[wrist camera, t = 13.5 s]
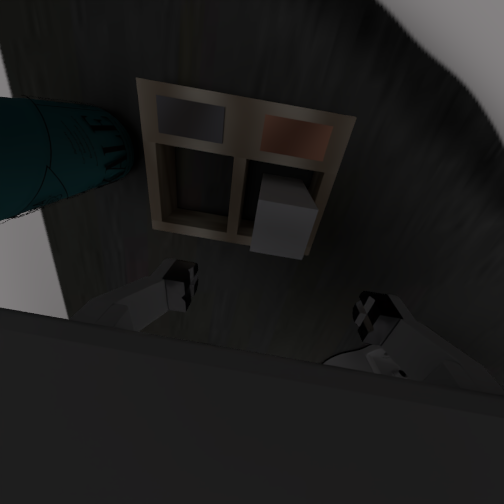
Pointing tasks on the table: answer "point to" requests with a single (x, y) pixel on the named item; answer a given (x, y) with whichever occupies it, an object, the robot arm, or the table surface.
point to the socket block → (233, 151)
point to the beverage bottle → (57, 152)
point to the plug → (283, 217)
